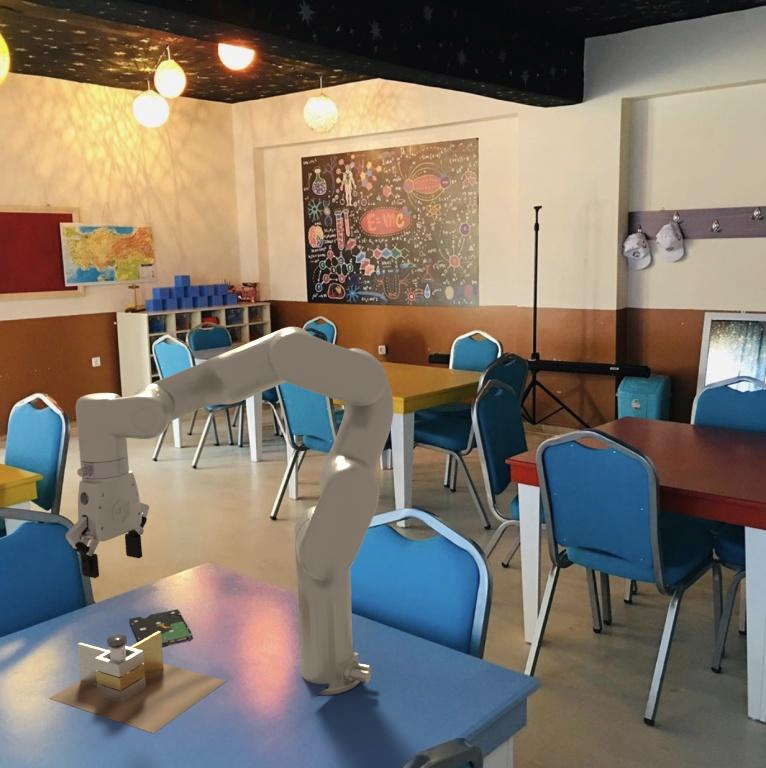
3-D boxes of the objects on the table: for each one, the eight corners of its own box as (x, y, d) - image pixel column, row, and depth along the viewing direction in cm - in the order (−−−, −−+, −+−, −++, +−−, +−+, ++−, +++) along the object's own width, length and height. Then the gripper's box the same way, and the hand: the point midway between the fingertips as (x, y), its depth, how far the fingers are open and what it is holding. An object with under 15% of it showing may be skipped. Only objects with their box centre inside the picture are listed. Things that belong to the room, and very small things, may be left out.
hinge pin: (134, 690, 144) (130, 636, 143) (120, 699, 141) (116, 644, 140) (121, 686, 146) (117, 633, 144) (107, 695, 143) (102, 640, 141)
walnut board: (227, 689, 147) (226, 681, 147) (154, 741, 131) (153, 733, 131) (127, 660, 158) (127, 653, 158) (49, 706, 143) (49, 698, 142)
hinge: (173, 670, 151) (171, 634, 150) (121, 703, 140) (118, 665, 139) (123, 656, 157) (120, 621, 156) (69, 687, 146) (66, 649, 145)
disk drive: (128, 631, 172) (141, 660, 159) (127, 618, 172) (140, 646, 159) (178, 620, 177) (195, 648, 164) (177, 608, 176) (194, 634, 163)
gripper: (79, 483, 129) (89, 588, 131) (159, 458, 144) (165, 553, 146) (46, 478, 132) (56, 581, 135) (127, 454, 147) (134, 547, 150)
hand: (113, 566), depth 140 cm, fingers open, 9 cm apart
